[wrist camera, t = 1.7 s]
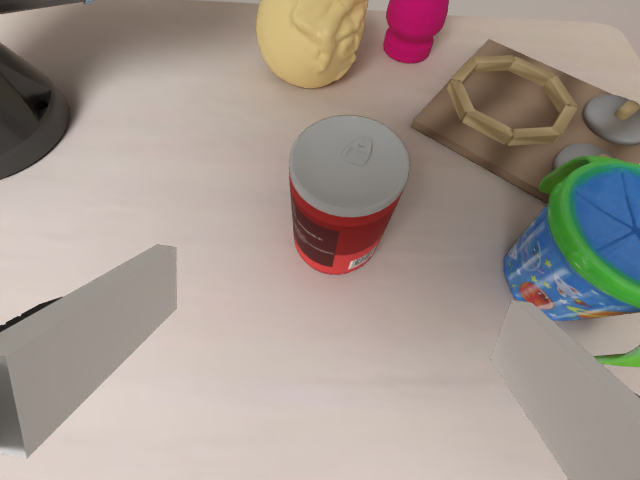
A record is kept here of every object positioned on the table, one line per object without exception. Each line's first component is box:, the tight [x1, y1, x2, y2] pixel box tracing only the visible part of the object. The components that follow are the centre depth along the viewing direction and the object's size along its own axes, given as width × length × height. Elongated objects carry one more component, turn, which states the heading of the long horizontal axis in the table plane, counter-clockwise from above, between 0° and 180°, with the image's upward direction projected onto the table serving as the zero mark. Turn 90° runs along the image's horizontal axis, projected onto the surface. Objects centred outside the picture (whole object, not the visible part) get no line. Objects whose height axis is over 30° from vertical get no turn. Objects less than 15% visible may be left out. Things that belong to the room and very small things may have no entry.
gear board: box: [411, 39, 640, 204], centre depth 36 cm, size 22×20×4 cm
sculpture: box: [256, 0, 368, 88], centre depth 36 cm, size 12×12×11 cm
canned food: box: [289, 115, 410, 275], centre depth 25 cm, size 8×8×11 cm
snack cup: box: [504, 156, 640, 367], centre depth 24 cm, size 16×10×10 cm
